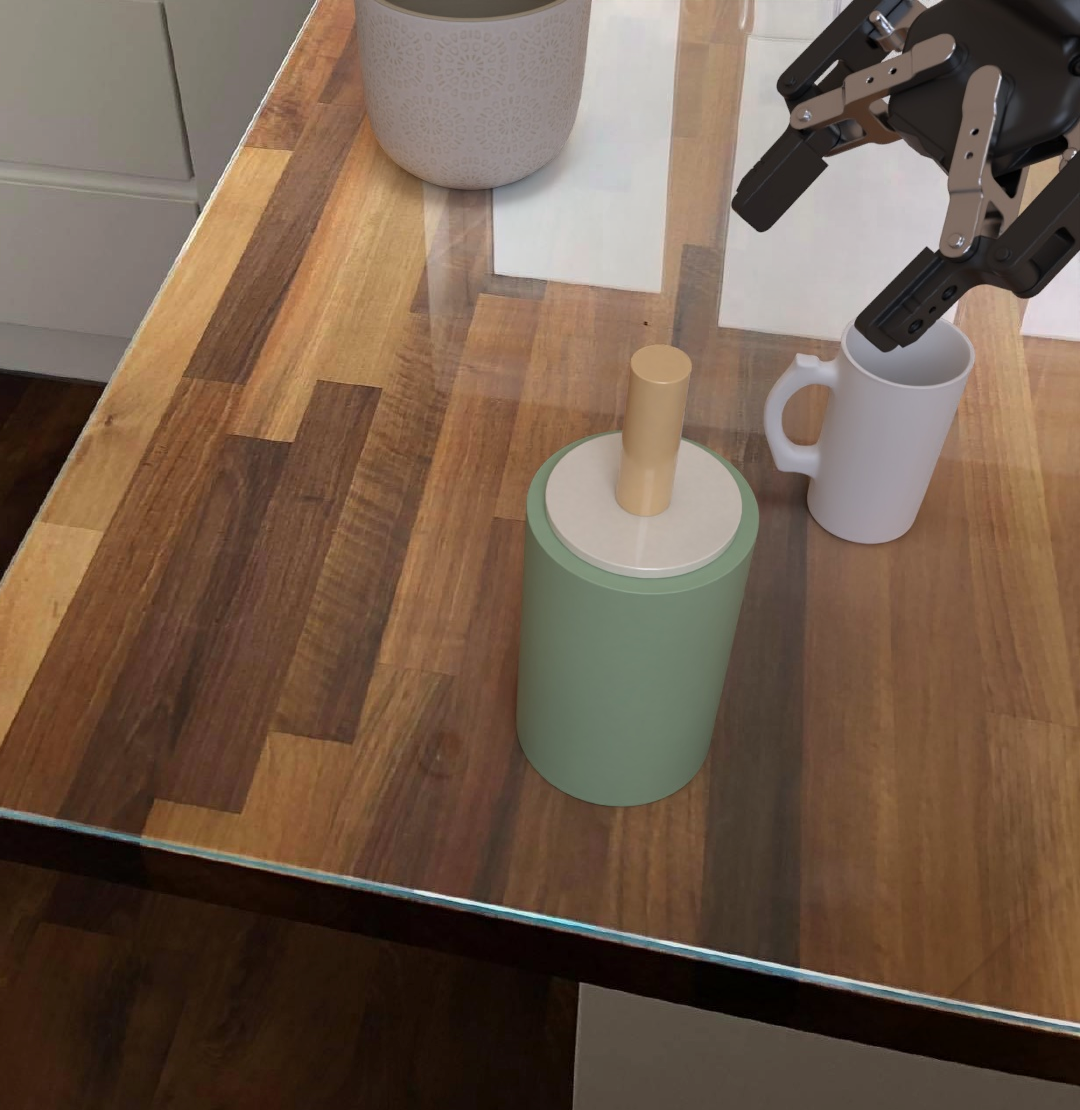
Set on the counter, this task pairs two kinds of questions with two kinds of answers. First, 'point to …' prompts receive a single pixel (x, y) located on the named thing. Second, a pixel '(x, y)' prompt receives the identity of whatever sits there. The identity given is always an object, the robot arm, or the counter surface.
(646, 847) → the counter surface
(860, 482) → the mug
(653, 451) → the lid
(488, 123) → the planter
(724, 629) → the cylinder
